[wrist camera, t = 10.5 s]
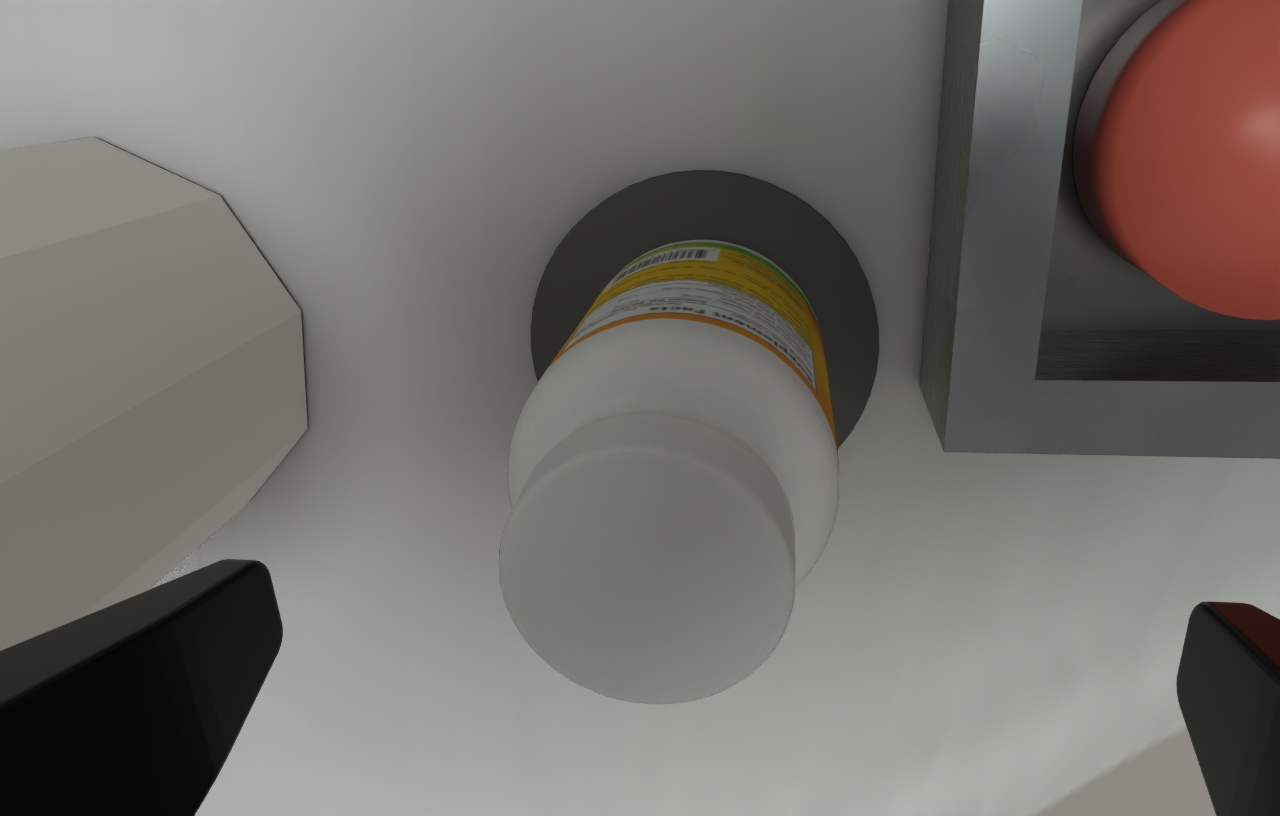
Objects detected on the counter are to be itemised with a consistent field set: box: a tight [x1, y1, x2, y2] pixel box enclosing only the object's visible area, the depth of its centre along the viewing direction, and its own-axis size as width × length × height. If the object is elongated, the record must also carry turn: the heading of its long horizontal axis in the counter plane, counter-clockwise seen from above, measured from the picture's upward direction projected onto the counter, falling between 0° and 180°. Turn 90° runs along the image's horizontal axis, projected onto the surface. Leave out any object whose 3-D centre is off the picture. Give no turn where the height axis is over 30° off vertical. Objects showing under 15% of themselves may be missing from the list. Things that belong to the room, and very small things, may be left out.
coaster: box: [531, 170, 879, 449], centre depth 21 cm, size 8×8×1 cm
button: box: [1073, 0, 1280, 320], centre depth 16 cm, size 6×6×2 cm
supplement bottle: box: [499, 240, 839, 704], centre depth 16 cm, size 5×5×10 cm
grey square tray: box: [920, 0, 1280, 459], centre depth 16 cm, size 11×11×4 cm
